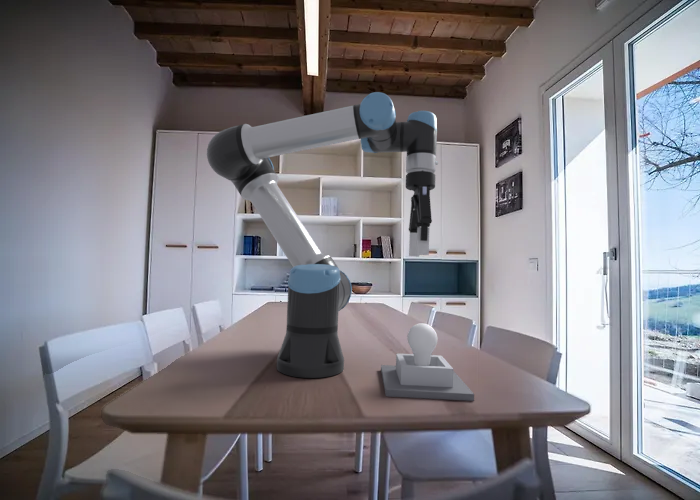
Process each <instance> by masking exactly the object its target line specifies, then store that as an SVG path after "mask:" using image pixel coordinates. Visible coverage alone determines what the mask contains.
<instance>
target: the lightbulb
mask: <svg viewBox="0 0 700 500" xmlns="http://www.w3.org/2000/svg"><path fill="white" fill-rule="evenodd" d="M406 337H407V338H406V339H407V343H408V346H409V348H410V350H411V352H412V354H413V355H414V362H415V364H416V365H420V366H429V365H430V359H431V355H433V352H434V350H435V349H436V346H437V344H438V340H439V339H438V334H437V332H436V330H435V329H434V328H433V327H432V326H431V325H429V324H428V323H422V322H420V323H416V324H414V325H412V326H411V327H410V329H409V330H408V332H407V336H406Z"/></svg>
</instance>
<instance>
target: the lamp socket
mask: <svg viewBox="0 0 700 500" xmlns="http://www.w3.org/2000/svg"><path fill="white" fill-rule="evenodd" d="M380 373H381V378H382V384H383V388H384V393H385V397H391V398H392V397H395V398H413V399H414V398H415V399H432V400H433V399H434V400H451V401H453V400H454V401H470V402H472V401H473V402H474V401H475V393H474V392H473V391H472V390H471V389H470V387H469V386H468V385H467V384H466V383H465V382H464V381H463V379H462V378H461V377H460V376H459V375H458V374H457V373H456V372H455V371H454V368H453V366H451V364H450V363H449V362H448V361H447V360H446V358H444V357H443V355H437V354H436V355H435V354H432V355H431V359H430V365H429V366H420V365H416V364H415V362H414V355H413V353H396V354H395V365H388V364H381V365H380Z"/></svg>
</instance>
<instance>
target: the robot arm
mask: <svg viewBox="0 0 700 500" xmlns="http://www.w3.org/2000/svg"><path fill="white" fill-rule="evenodd" d="M396 116H397V113H396V109H395V107H394V103H393V100H392V98H391V97H390V96H389V95H387V94H386V93H384V92H380V91H375V92H371V93H369V94H368V95H366V96H365V97H364V98H363V99H362V101H361V102H360V103H358V104H354V105H350V106H345V107H340V108H336V109H331V110H327V111H322V112H321V111H320V112H316V113H313V114H307V115H303V116H299V117H293V118H288V119H284V120H279V121H275V122H270V123H267V124H266V123H265V124H262V125H257V126H256V125H255V126H252V125H250V124H247V123H244V124H239V125H234V126H231V127H228V128H225V129H222V130H220V131H219V132H217V133H216V134H215V135H214V136H213V137H212V138H211V139H210V141H209V142H208V146H207V149H206V159H207V161H208V164H209V166H210V168H211V169H212V170H213V171H214V172H215V173H216V174H217V175H219V176H220V177H223V178H224V179H226V180H228V181H230V182H231V183H232V184H233V185H234V187H235V189H236V190H237V192H238V193H239V195H240V197H241V198H242V199H243V200H246V201H250V202H251V204H252V205H253V207H254V208H255V209H256V212H257V213H258V215H259V216H260V217H261V219H262V221H263V222H264V224H265V226H266V227H267V229H268V230H269V231H270V233H271V235H272V236H273V238H274V239H275V241H276V243H277V244H278V246H279V247H280V249H281V250H282V252H283V254H284V255H285V257H286V258H287V260H288V262H290V265H291V266H292V268H291V269H290V270H289V274H288V279H287V280H288V281H287V286H288V287H287V307H286V308H287V309H286V331H285V336H284V339H283V341H282V343H281V346H280V350H279V352H278V355H277V358H276V369H277V371H278V372H279V373H281V374H284V375H286V376H290V377H295V378H304V379H305V378H306V379H314V378H315V379H317V378H318V379H319V378H326V377H332V376H333V377H334V376H336V375H338V374H341V373H343V371H344V368H345V358H344V354H343V350H342V347H341V346H342V345H341V343H340V339H339V334H338V332H339V331H338V327H339V312H340V311H341V310H343V309H344V308H345V307H346V306H347V305H348V303H349V301H350V300H351V296H352V290H353V287H352V283H351V281H350V280H351V279H350V278H349V277H348V275H347V274H346V273H345V272H344V271H342V270H340V268H339V267H338V265H337V264H336V262H335V261H334V260H333V257H332V256H331V255H328V254H325V253H322V251H321V249H320V248H319V247H318V245H317V243H316V242H315V240H314V239H313V237H312V236H311V234H310V233H309V231H308V230H307V228H306V227H305V225H304V224H303V222H302V220H301V219H300V217H299V216H298V214H297V213H296V211H295V210H294V209H293V207H292V205H291V204H290V202H289V201H288V199H287V198H286V196H285V194H284V193H283V192H282V190H281V188H280V186H278V185H279V176H278V174H277V172H276V171H275V168H274V165H273V162H272V160H271V159H270V158H274V157H276V156H282V155H287V154H291V153H296V152H302V151H306V150H311V149H316V148H320V147H325V146H331V145H335V144H340V143H341V144H342V143H345V142H351V141H354V140H360V145H361V147H360V148H361V150H362V151H363V152H365V153H374V154H378V153H406V157H405V160H406V161H405V173H406V175H405V188H406V190H409V191H413V194H412V196H411V198H410V201H411V202H410V203H411V204H410V212H409V213H410V216H409V224H408V232H409V242H408V243H409V248H408V257H416V258H417V257H418V258H419V257H420V256H429V255H430V251H429V250H430V227H431V224H432V222H433V219H432V209H431V206H432V205H431V194H430V193H431V191H432V190H433V189H435V188H436V174H435V172H436V167H437V165H438V164H439V162H438V161H436V158H437V140H438V139H437V137H438V128H437V124H438V123H437V120H438V119H437V116H436V114H434V113H433V112H431V111H428V110H417V111H414V112H411V113H410V114H409V115H408V116H407V120H406V121H399V122H398V121H396V120H397V118H396Z"/></svg>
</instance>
